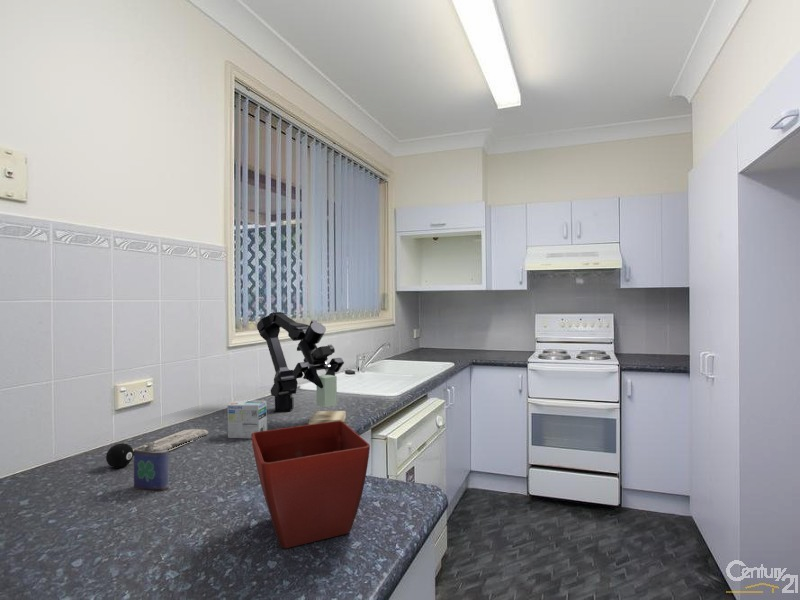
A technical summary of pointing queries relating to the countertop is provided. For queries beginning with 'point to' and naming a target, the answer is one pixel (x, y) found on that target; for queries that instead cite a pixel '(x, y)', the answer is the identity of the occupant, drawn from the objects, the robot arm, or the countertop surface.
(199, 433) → the newspaper
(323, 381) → the tall block
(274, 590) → the countertop surface
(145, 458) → the flask
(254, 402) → the light bulb box
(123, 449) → the billiard ball
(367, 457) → the plant pot
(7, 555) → the countertop surface
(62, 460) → the countertop surface
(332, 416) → the slab
